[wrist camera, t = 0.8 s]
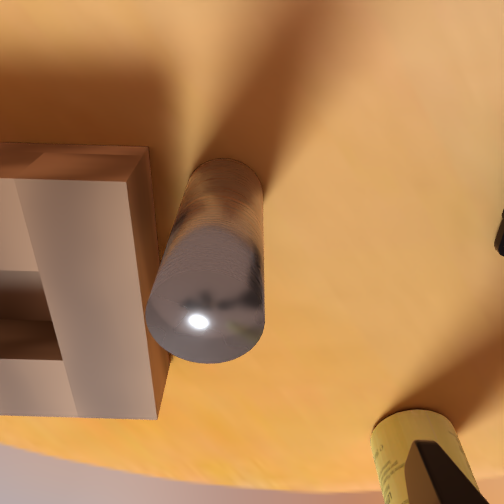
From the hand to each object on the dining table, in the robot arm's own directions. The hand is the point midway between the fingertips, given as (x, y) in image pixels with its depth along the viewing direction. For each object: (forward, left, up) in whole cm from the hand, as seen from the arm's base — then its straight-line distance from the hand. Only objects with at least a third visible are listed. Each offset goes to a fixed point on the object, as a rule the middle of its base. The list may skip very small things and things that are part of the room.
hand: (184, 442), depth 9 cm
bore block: (+9, +4, -12) cm, 15 cm away
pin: (0, 0, -12) cm, 12 cm away
